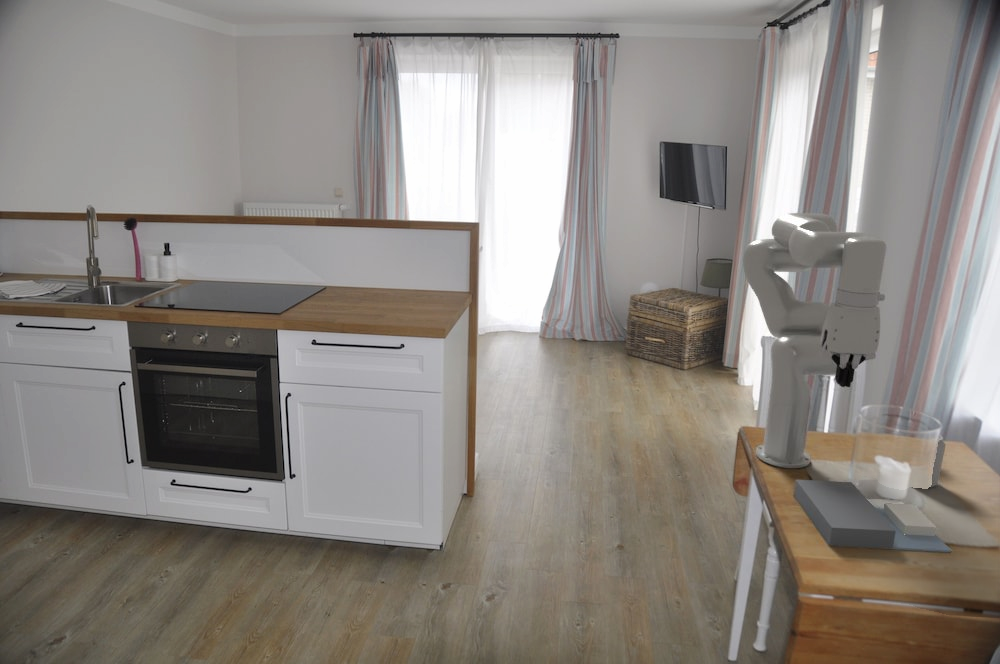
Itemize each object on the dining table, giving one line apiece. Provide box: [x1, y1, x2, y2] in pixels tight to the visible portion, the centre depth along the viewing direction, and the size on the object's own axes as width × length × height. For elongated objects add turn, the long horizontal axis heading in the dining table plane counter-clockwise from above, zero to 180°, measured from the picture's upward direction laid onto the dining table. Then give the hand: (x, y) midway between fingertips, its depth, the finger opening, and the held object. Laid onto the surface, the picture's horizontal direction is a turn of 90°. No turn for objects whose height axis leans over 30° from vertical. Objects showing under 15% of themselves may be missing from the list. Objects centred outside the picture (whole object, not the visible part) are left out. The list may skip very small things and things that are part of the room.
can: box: [931, 434, 946, 488], centre depth 160 cm, size 8×8×12 cm
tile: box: [883, 503, 937, 536], centre depth 142 cm, size 9×6×2 cm, turn 176°
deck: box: [793, 479, 896, 550], centre depth 143 cm, size 20×12×4 cm, turn 176°
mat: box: [875, 507, 952, 553], centre depth 143 cm, size 20×11×1 cm, turn 176°
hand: (843, 384), depth 145 cm, fingers closed
